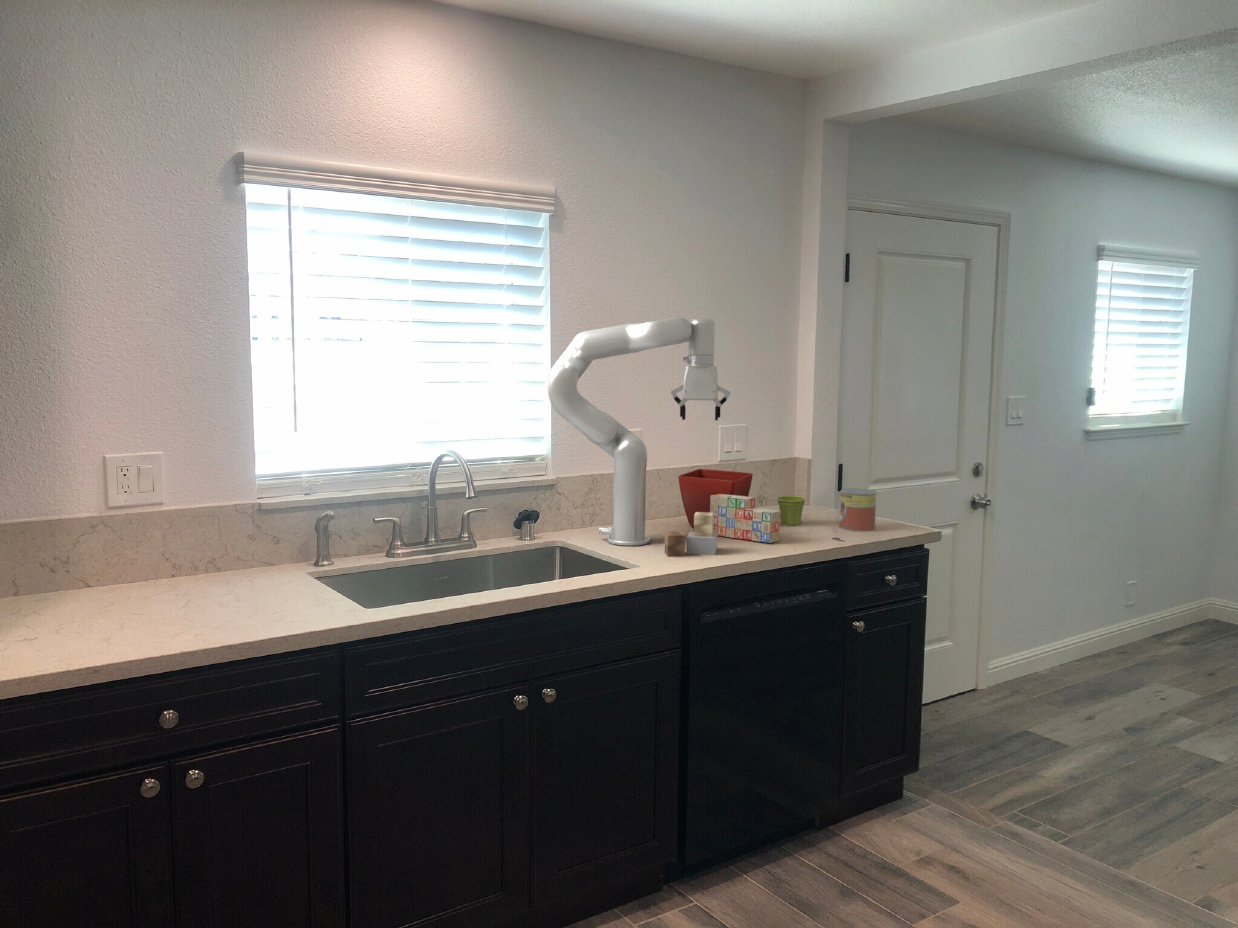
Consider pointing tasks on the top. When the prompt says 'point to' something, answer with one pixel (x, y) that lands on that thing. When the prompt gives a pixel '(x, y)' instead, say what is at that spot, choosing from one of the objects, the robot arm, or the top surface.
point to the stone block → (701, 544)
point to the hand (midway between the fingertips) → (700, 419)
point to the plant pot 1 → (710, 488)
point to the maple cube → (703, 524)
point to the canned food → (857, 510)
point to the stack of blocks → (744, 519)
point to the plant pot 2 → (791, 509)
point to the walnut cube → (675, 544)
